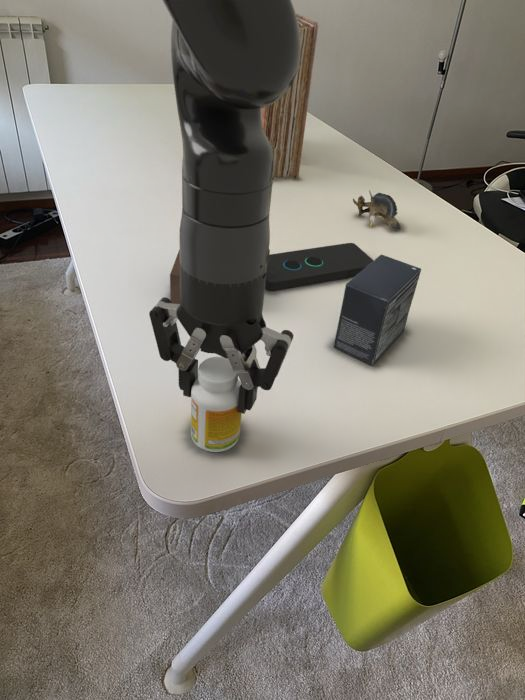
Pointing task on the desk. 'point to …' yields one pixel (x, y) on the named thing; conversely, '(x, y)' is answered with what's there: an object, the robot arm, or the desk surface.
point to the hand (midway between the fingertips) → (217, 399)
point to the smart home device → (314, 266)
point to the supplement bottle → (215, 406)
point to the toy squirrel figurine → (379, 209)
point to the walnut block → (175, 281)
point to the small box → (376, 308)
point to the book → (292, 109)
